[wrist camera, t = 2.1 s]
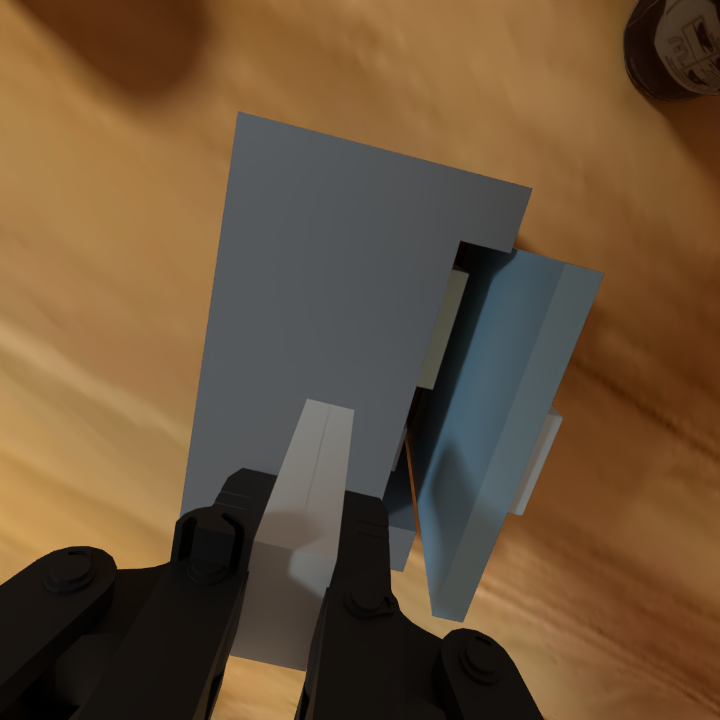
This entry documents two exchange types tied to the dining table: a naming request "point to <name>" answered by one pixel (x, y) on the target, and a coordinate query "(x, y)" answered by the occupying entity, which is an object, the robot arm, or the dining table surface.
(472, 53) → the dining table surface
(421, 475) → the side door
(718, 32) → the coffee cup
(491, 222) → the grey notched block
